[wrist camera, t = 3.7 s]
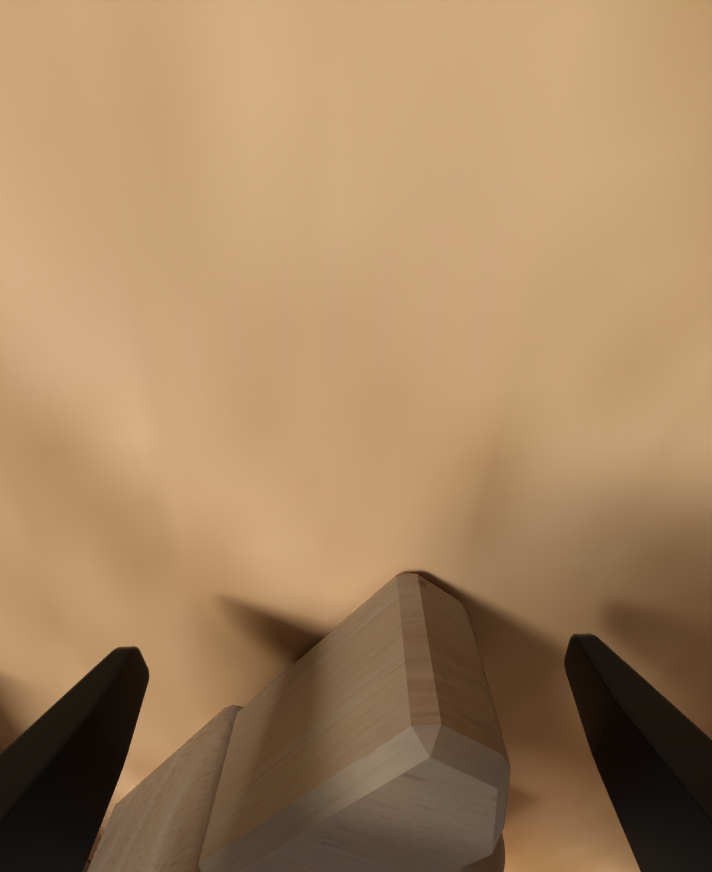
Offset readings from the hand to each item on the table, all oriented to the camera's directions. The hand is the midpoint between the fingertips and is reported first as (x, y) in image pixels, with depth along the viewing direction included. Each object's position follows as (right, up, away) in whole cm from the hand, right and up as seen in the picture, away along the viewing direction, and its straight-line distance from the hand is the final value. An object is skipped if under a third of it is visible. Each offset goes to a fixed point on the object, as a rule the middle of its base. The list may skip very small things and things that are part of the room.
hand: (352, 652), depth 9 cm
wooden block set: (+2, -9, +8) cm, 12 cm away
